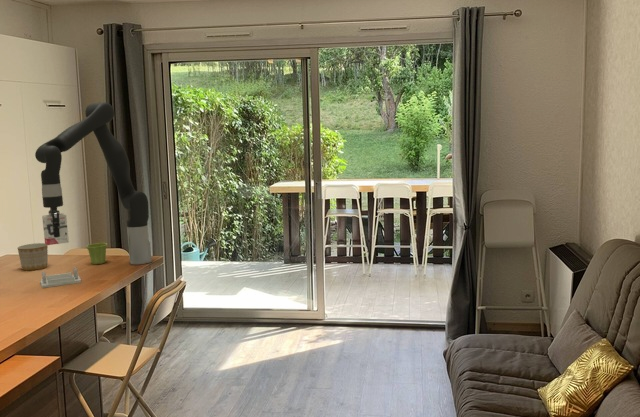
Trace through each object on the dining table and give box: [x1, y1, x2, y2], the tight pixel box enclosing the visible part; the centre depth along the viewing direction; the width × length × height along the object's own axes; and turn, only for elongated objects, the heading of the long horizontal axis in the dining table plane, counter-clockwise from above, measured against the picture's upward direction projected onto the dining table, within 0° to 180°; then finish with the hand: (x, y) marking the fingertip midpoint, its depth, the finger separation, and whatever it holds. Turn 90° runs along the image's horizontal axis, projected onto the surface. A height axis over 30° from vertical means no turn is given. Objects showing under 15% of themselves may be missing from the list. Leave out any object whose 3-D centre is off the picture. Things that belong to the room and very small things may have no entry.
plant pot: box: [86, 242, 108, 265], centre depth 305 cm, size 9×9×9 cm
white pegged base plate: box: [39, 266, 82, 289], centre depth 270 cm, size 15×11×5 cm
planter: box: [17, 242, 49, 271], centre depth 300 cm, size 13×13×10 cm
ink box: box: [41, 212, 70, 246], centre depth 267 cm, size 8×5×12 cm, turn 124°
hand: (56, 235), depth 267 cm, fingers closed on ink box, 5 cm apart
